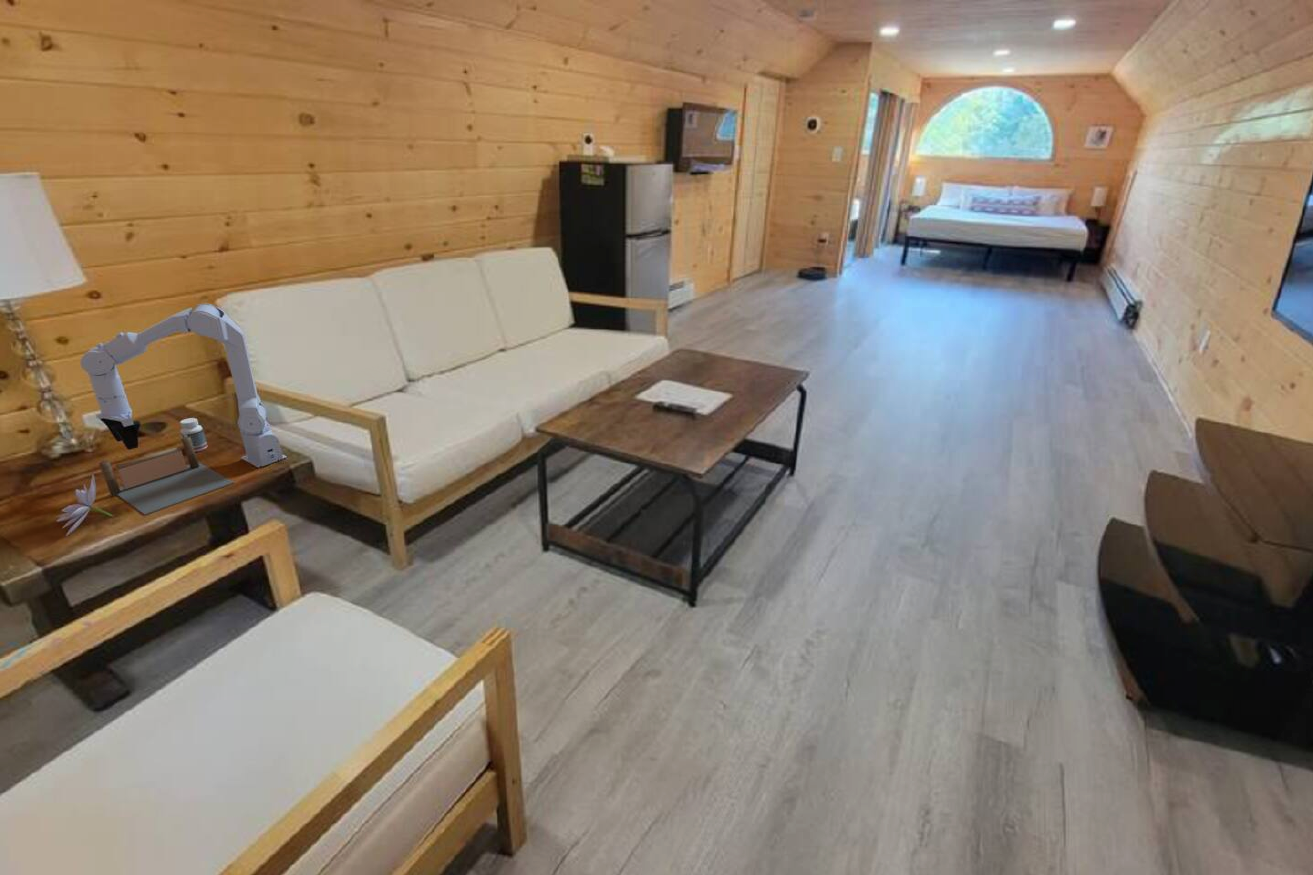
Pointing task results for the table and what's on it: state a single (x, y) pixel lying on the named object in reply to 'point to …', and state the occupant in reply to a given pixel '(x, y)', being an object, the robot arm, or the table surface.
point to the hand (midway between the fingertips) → (127, 444)
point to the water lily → (81, 506)
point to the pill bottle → (194, 433)
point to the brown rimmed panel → (151, 467)
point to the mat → (173, 489)
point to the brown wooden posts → (111, 478)
